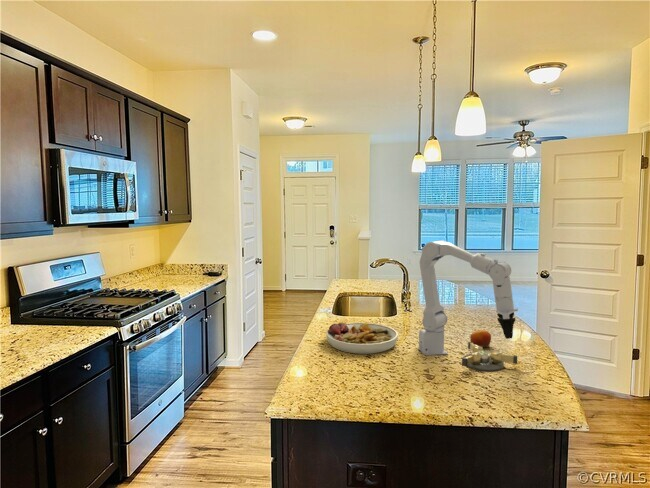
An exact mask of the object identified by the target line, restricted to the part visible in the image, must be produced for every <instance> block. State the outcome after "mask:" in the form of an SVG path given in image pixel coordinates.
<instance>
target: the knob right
mask: <svg viewBox="0 0 650 488" xmlns="http://www.w3.org/2000/svg"><path fill="white" fill-rule="evenodd" d="M503 353H504V352H500V351H498V350H497V351H491V352H490V355H491V362H493V363H497V364H499V363H502V362H504V363H510V364H515V365H518V355H515V354H514V355H512V354H505V353H504V354H503Z"/></svg>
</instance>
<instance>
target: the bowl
mask: <svg viewBox="0 0 650 488" xmlns="http://www.w3.org/2000/svg"><path fill="white" fill-rule="evenodd" d="M398 337H399V334H398V331H396V330H395V329H394V328H392V327H390V326H387V325H383V324H378V323H373V322H372V323H369V322H350V323H345V322H339V323H332V324H331V325H330V326H329V328H328V330H327V331H326V340H327V342H328V344H329V345H330V346H331V347H333V348H334V349H336V350H338V351H342V352H343V353H349V354H355V355H356V354H357V355H368V354H370V355H372V354H378V353H383V352H386V351H388V350H390V349H391V348H392V349H393V347H394V346H395V345H396V343H397V342H398Z"/></svg>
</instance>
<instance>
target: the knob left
mask: <svg viewBox="0 0 650 488" xmlns="http://www.w3.org/2000/svg"><path fill="white" fill-rule="evenodd" d="M463 357H464V356H463ZM463 357H462V358H461V366H464V367H467V365H469V364H481V354H480V353H477V352H470V356H468V357H464V358H463Z"/></svg>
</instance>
